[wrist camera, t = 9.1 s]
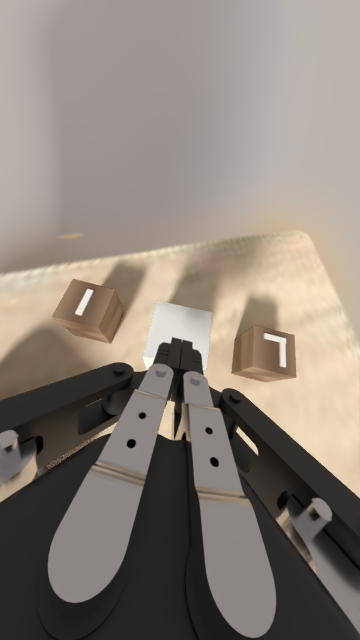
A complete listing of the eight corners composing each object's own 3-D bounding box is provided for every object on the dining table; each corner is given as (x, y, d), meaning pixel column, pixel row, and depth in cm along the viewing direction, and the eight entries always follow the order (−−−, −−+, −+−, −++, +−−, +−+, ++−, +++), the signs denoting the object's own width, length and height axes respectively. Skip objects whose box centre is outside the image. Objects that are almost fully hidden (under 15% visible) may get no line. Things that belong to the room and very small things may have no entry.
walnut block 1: (74, 334, 25) (50, 315, 19) (90, 302, 27) (73, 276, 21) (110, 343, 25) (97, 327, 19) (123, 310, 27) (115, 287, 21)
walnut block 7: (231, 373, 25) (253, 366, 20) (234, 338, 27) (255, 322, 22) (266, 382, 25) (297, 377, 20) (266, 346, 28) (295, 333, 22)
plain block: (146, 369, 24) (142, 356, 17) (156, 327, 27) (156, 300, 19) (191, 378, 24) (206, 368, 17) (196, 335, 27) (212, 312, 20)
